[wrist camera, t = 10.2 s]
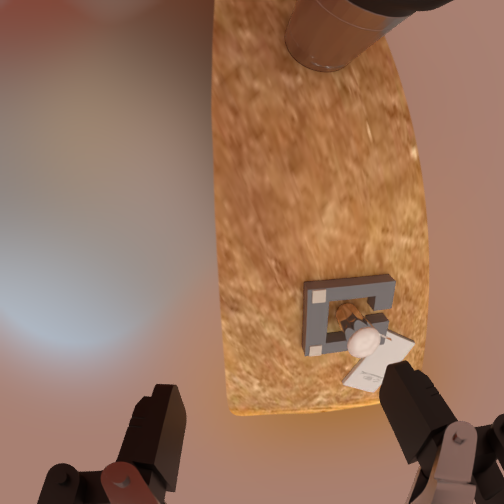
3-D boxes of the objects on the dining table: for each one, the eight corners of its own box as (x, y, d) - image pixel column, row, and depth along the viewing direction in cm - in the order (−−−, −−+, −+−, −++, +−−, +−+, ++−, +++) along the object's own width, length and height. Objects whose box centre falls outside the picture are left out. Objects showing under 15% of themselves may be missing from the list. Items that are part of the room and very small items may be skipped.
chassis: (304, 281, 38) (308, 290, 36) (388, 274, 39) (396, 281, 36) (302, 346, 42) (305, 357, 39) (378, 335, 42) (384, 345, 39)
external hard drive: (412, 339, 44) (371, 388, 47) (383, 326, 42) (340, 379, 45) (416, 343, 42) (374, 393, 45) (387, 331, 41) (343, 385, 44)
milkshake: (367, 313, 41) (394, 351, 31) (337, 329, 41) (358, 371, 32) (359, 290, 39) (387, 326, 30) (326, 308, 40) (347, 348, 30)
